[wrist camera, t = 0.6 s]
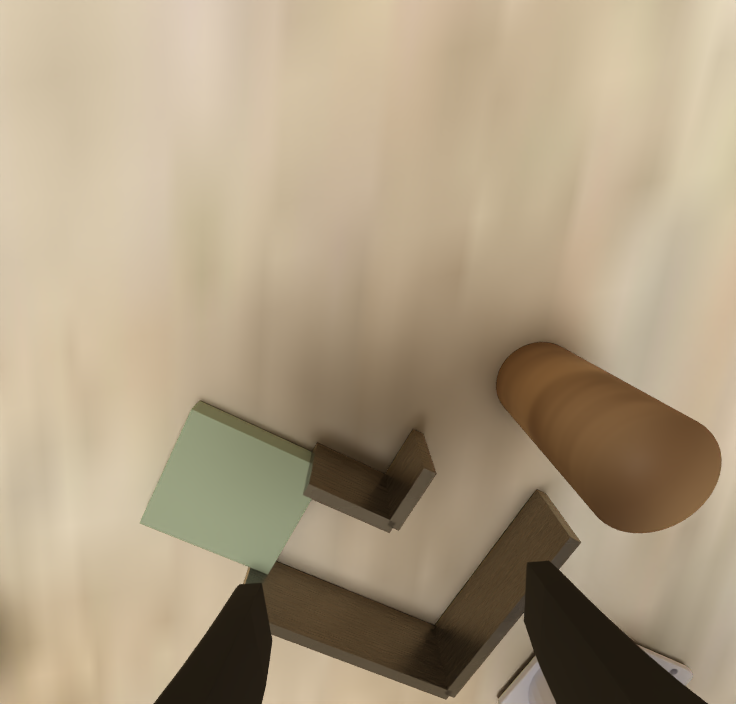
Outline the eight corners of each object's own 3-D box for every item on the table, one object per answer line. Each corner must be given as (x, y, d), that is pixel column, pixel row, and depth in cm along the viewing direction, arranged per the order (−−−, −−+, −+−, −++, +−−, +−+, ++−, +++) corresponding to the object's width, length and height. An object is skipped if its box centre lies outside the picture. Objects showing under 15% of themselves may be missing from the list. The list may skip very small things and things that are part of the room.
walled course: (546, 493, 21) (581, 542, 18) (438, 635, 24) (451, 701, 21) (343, 395, 19) (340, 428, 16) (250, 560, 22) (231, 619, 19)
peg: (594, 365, 19) (749, 451, 12) (546, 431, 20) (661, 551, 13) (527, 327, 19) (644, 391, 11) (480, 397, 20) (559, 501, 12)
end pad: (329, 459, 20) (328, 471, 19) (271, 559, 22) (267, 574, 21) (199, 400, 19) (191, 409, 18) (149, 510, 21) (139, 523, 20)
